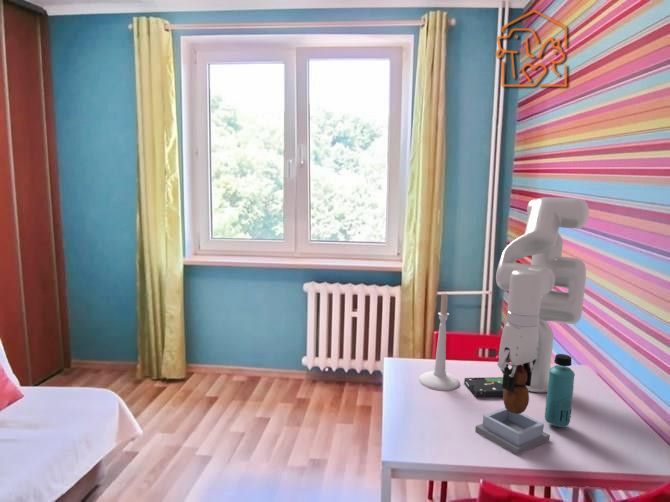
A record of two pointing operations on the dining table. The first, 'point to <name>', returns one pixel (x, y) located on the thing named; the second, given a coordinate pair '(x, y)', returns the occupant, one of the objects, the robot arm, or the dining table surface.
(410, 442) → the dining table surface
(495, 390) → the disk drive
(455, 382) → the candlestick
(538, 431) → the figurine dock
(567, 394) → the beverage bottle
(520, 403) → the wooden figurine
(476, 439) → the dining table surface
